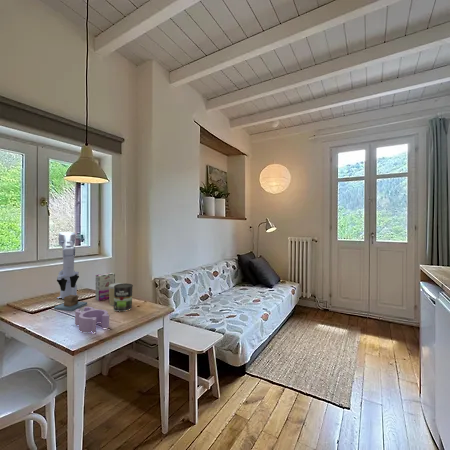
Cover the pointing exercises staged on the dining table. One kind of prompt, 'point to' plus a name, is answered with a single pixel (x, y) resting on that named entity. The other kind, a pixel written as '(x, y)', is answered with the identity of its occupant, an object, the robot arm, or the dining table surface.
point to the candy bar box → (104, 285)
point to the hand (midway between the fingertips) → (68, 289)
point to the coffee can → (122, 297)
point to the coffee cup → (112, 293)
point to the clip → (91, 319)
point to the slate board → (70, 308)
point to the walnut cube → (70, 300)
